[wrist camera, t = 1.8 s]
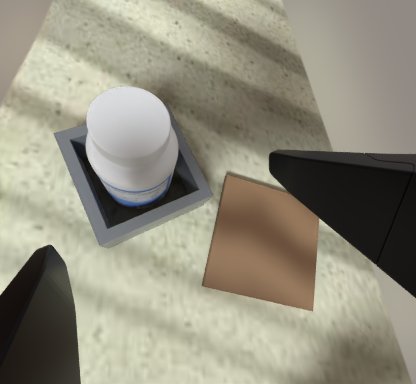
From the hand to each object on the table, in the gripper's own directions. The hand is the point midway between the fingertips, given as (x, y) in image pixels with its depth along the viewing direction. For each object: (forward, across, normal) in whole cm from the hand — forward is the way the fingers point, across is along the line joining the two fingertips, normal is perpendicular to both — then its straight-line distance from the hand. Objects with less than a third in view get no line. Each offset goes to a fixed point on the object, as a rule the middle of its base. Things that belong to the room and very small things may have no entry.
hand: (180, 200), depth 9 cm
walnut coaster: (+5, -8, +12) cm, 15 cm away
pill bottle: (+12, 0, +5) cm, 13 cm away
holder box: (+12, 0, +5) cm, 13 cm away
